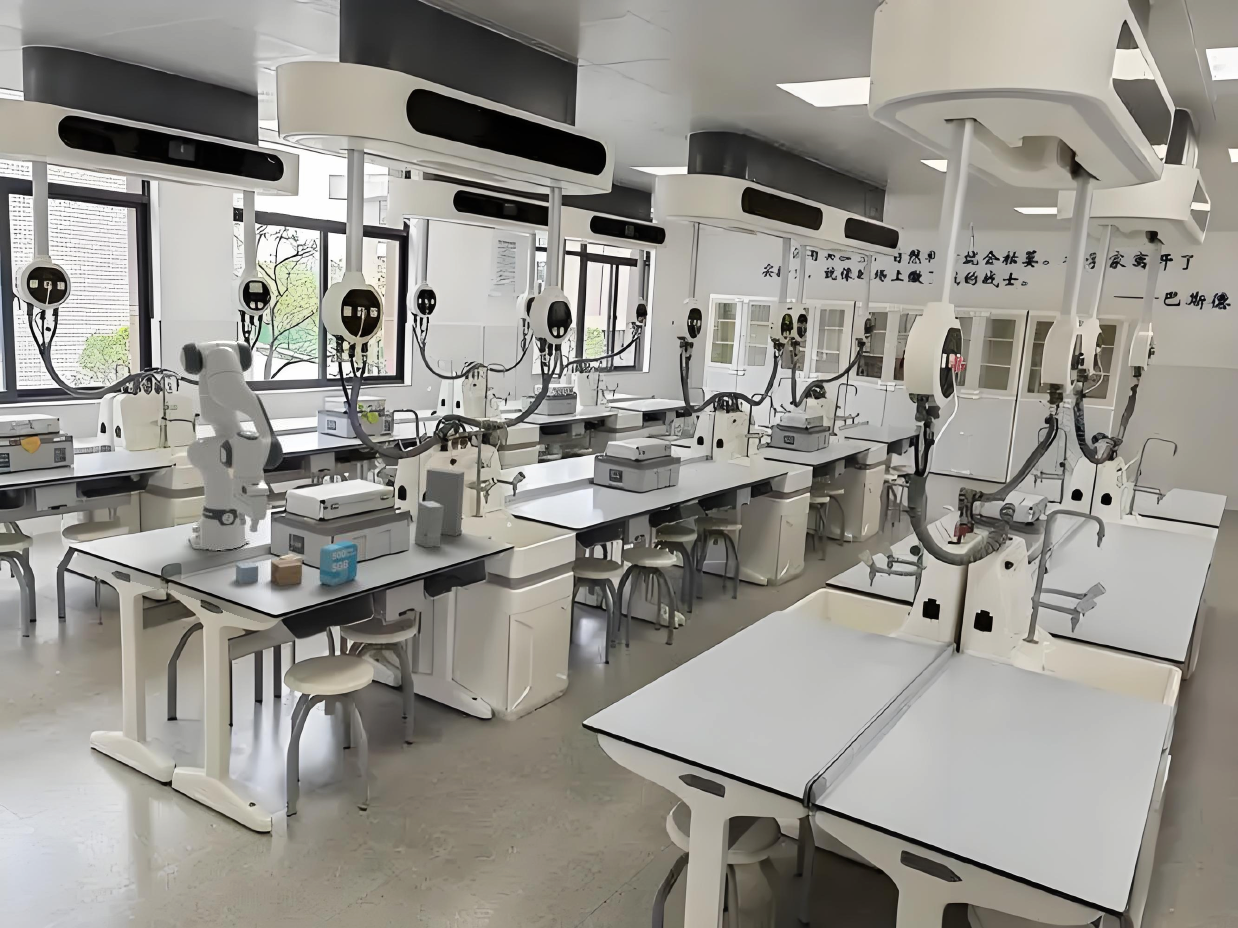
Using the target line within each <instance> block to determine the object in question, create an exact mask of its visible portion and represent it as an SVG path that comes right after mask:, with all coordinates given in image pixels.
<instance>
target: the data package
mask: <svg viewBox="0 0 1238 928" xmlns="http://www.w3.org/2000/svg"><path fill="white" fill-rule="evenodd" d="M319 555H320V556H319V578H318V580H319V582H320V584H323V585H326V586H331V587H335V586H337V585H340V584H341V585H342V584H343V583H346V582H350V581H353V580H355V578H356V577H357V572H358V545H357V544H356V543H353V542H349V541H340V542H336V543H333V544H330V545H325V546H323V547H321V549H320V551H319Z"/></svg>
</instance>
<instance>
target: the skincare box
mask: <svg viewBox="0 0 1238 928" xmlns="http://www.w3.org/2000/svg"><path fill="white" fill-rule="evenodd" d="M443 511H444V506H442V505H440V504H438V503H436V502H433V501H426V502H425V501H419V502H418V508H417V516H416V526H415V535H414V543H415V544H417V545H420V546H421V547H425V548H433V546H435V547H439V546H438V545H441V535H442V534H441V528H442V519H443Z"/></svg>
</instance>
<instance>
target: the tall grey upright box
mask: <svg viewBox="0 0 1238 928" xmlns="http://www.w3.org/2000/svg"><path fill="white" fill-rule="evenodd" d="M425 478H426V479H425V480H426V482H425V500H424V502H426V501H433V502H436V503H438V504H440V505H442V506H444V511H443V519H442V528H441V535H448V536H453V537H457V536H458V535H460V534H462V533H463V529H462V520H463V503H464V484H465V471H461V470H454V469H445V468H437V467H431V468H428V469H426V477H425Z"/></svg>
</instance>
